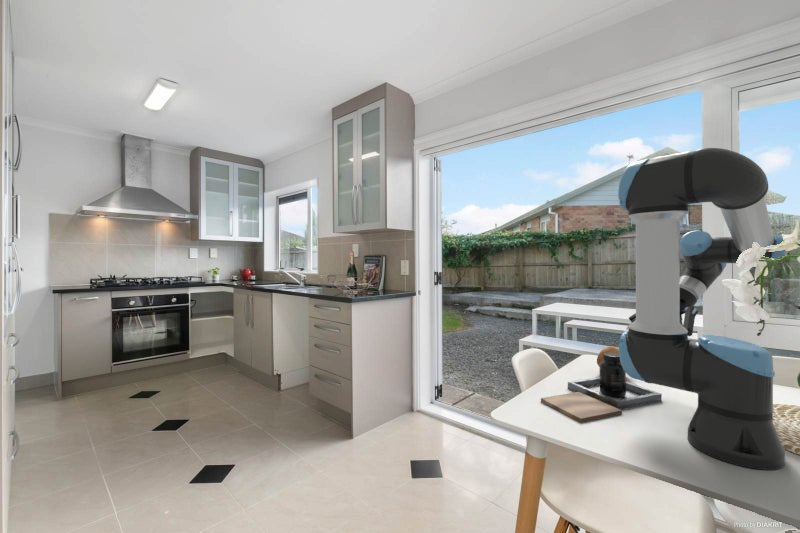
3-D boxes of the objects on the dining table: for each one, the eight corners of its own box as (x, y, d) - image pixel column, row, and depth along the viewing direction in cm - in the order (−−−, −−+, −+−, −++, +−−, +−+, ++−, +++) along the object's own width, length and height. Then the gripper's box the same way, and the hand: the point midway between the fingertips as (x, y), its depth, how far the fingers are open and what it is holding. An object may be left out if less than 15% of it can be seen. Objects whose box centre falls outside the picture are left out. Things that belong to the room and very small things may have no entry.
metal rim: (661, 400, 103) (661, 393, 103) (617, 409, 97) (617, 402, 97) (608, 381, 119) (608, 375, 119) (567, 388, 113) (567, 381, 113)
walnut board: (621, 414, 94) (621, 410, 94) (580, 422, 90) (580, 418, 90) (578, 395, 107) (578, 391, 107) (540, 401, 103) (540, 398, 103)
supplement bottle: (628, 394, 108) (628, 354, 108) (622, 400, 103) (623, 359, 103) (602, 388, 113) (603, 350, 113) (596, 394, 108) (596, 354, 108)
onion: (634, 380, 120) (634, 350, 120) (601, 378, 122) (602, 349, 122) (623, 371, 129) (623, 344, 129) (593, 369, 131) (593, 342, 131)
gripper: (734, 307, 100) (688, 364, 98) (656, 298, 125) (618, 343, 122) (719, 289, 99) (671, 345, 97) (643, 283, 124) (604, 328, 121)
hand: (641, 344), depth 110 cm, fingers open, 13 cm apart
